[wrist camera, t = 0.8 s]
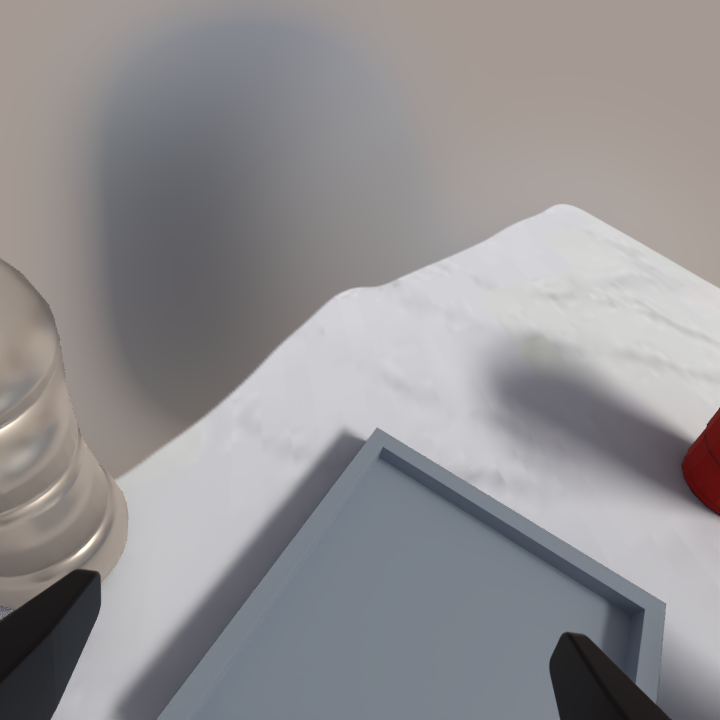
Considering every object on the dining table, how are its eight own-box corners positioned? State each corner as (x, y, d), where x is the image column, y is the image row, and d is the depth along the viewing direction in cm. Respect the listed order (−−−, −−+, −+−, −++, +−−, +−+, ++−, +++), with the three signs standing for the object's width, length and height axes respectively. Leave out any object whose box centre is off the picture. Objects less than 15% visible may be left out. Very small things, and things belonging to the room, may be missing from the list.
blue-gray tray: (577, 1150, 14) (609, 1184, 13) (148, 744, 19) (141, 739, 18) (645, 613, 26) (666, 603, 25) (371, 443, 31) (377, 427, 29)
